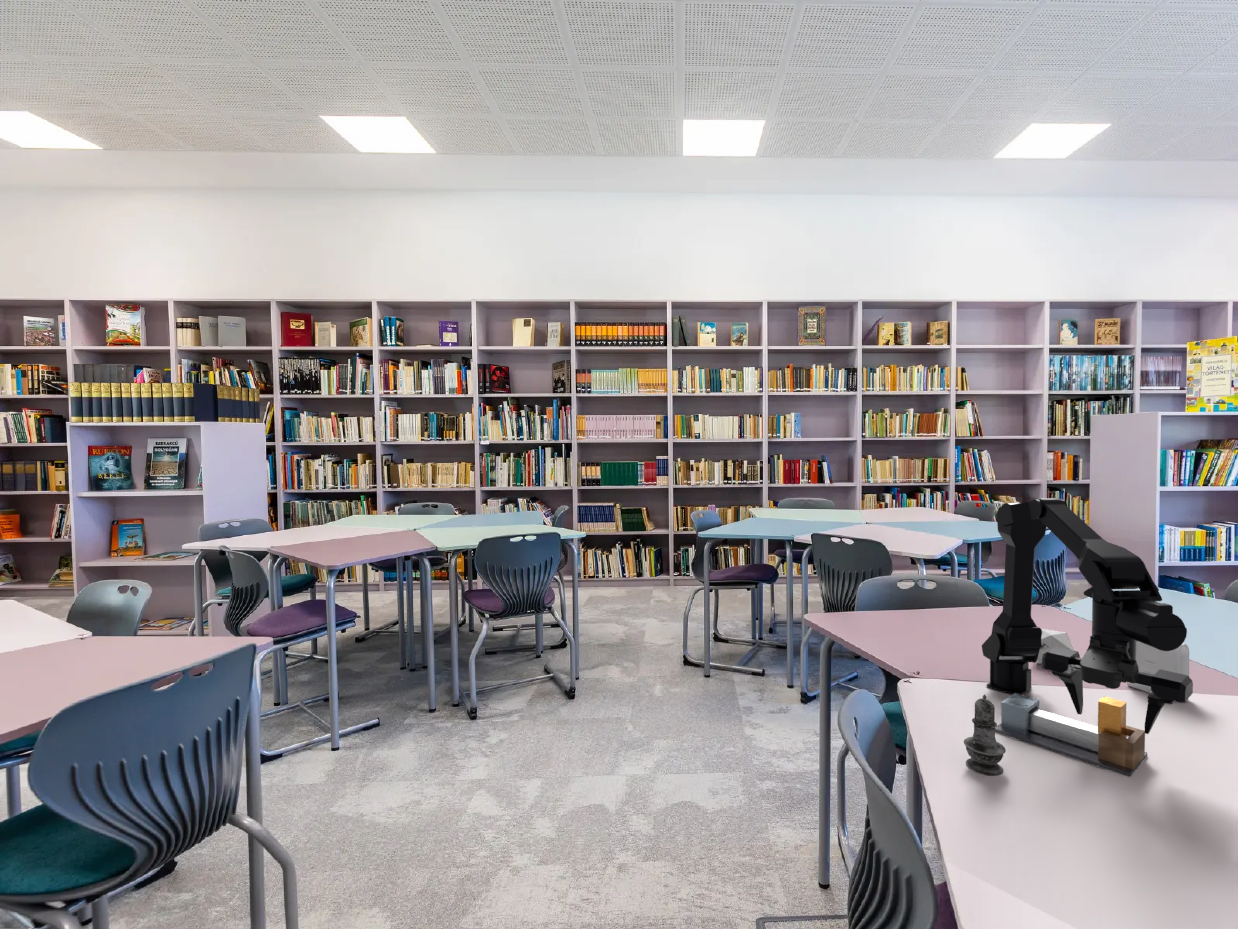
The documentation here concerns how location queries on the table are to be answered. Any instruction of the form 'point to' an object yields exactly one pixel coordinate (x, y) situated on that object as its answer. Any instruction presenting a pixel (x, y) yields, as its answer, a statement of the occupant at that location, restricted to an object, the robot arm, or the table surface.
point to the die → (1053, 642)
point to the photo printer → (1160, 661)
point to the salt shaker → (984, 741)
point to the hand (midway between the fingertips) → (1112, 723)
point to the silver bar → (1082, 724)
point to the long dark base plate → (1017, 727)
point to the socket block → (1122, 747)
